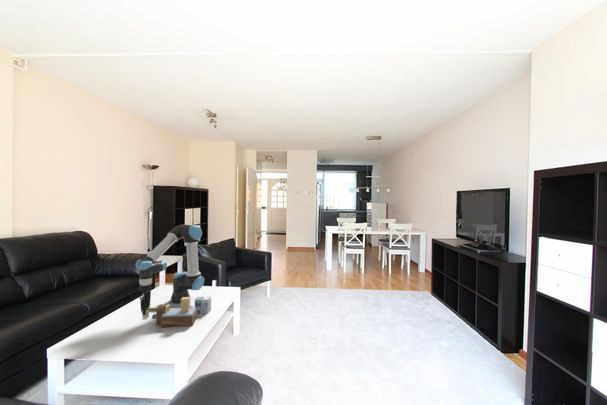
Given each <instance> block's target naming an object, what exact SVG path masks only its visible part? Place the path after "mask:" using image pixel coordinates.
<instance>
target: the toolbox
mask: <svg viewBox="0 0 607 405" xmlns="http://www.w3.org/2000/svg"><path fill="white" fill-rule="evenodd" d="M166 305H167V304H166V303H164V304H158V306H157V307H156V308H157V312H156V326H157V327H159V326H160V328H180V327H181V328H182V327H185V328H186V327H193V326H194V324H195V322H196V320H197V313H196V310H195V312H194V313H193V315H192V316H177V317H162V314H163V313H164V312H165V307H166ZM163 308H164V311H163Z"/></svg>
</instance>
